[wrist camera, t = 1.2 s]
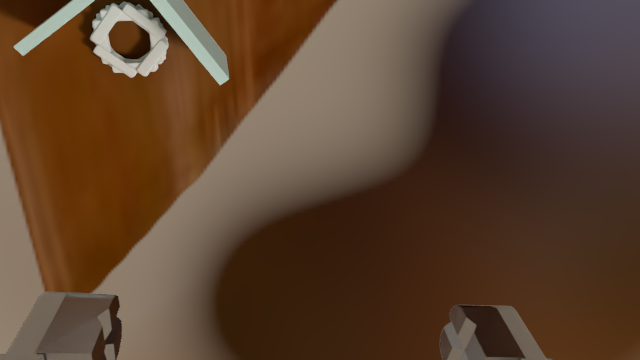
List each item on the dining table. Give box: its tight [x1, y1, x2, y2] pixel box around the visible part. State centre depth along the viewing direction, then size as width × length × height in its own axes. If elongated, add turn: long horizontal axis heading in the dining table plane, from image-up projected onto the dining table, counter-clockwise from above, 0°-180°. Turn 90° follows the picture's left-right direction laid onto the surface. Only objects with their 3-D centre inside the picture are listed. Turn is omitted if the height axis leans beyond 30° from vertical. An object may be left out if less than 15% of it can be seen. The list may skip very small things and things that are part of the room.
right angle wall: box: [14, 0, 229, 85], centre depth 41 cm, size 12×12×8 cm
